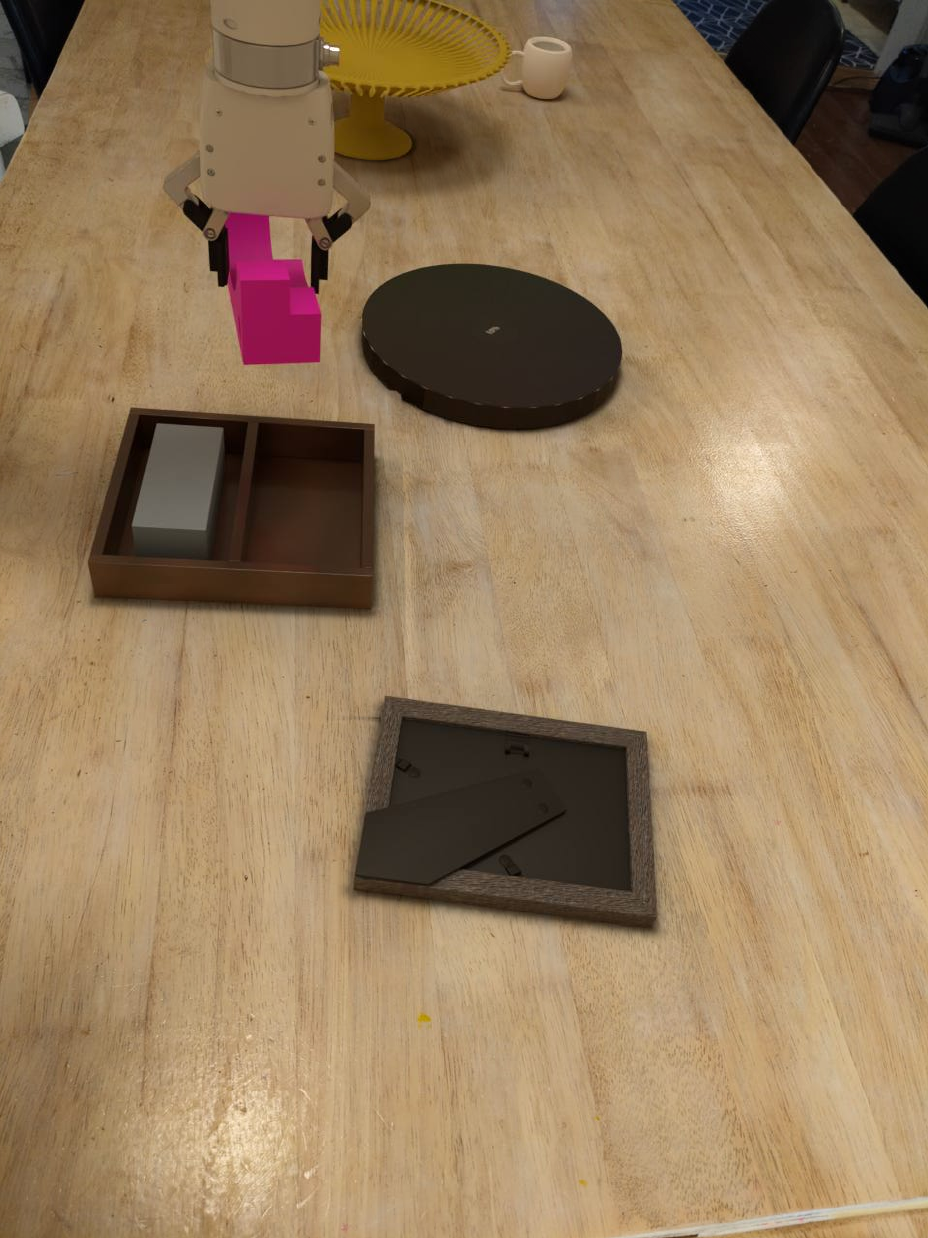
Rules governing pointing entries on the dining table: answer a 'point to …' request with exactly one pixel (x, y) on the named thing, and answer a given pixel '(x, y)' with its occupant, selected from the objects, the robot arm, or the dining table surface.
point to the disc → (490, 345)
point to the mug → (543, 67)
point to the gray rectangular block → (180, 493)
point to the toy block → (270, 298)
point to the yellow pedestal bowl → (399, 68)
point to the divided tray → (253, 516)
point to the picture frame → (510, 813)
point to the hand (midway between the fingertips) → (269, 280)
